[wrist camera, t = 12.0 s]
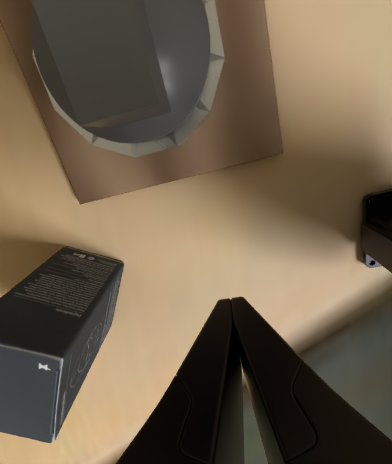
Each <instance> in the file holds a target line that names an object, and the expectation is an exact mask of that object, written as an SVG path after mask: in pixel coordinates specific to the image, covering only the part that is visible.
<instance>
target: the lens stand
mask: <svg viewBox="0 0 392 464" xmlns="http://www.w3.org/2000/svg"><path fill="white" fill-rule="evenodd" d="M215 6H216V11H217V17H218V23H219V28H220V34H221V39H222V45H223V51H224V56H225V59H224V63H223V67H222V71H221V74H220V78H219V81H218V85H217V89H216V92H215V96H214V99H213V103H212V107H211V110H210V114H209V117H208V118H207V119H206V120H205V121H204V122H203V123H202V125H201V126H200V127H199V128H198V129H197V130H196V131H195V132H194V133H193V134H192V135H191V136H190V137H189V138H188V139H187V140H186V141H185V142H184V143H183V144H181V145H179V146H177V147H173V148H169V149H166V150H162V151H158V152H154V153H151V154H147V155H143V156H140V157H136V158H135V157H131V156H128V155H124V154H121V153H117V152H114V151H111V150H107V149H104V148H100V147H97V146H93V145H91V144H90V143H89V142H88V141H87V140H86V139H85V138H84V137H83V136H82V135H81V134H80V133H79V132H78V131H77V130H75V129H74V128H73V127H72V126H71V125H70V124H69V123H68V122H67V121H66V120H65V119H64V118H63V117H62V116H61V115H60V114H59V113H58V112H57V111H55V110H54V107H53V104H52V102H51V100H50V97H49V95H48V92H47V90H46V87H45V85H44V83H43V80H42V78H41V75H40V73H39V70H38V68H37V66H36V63H35V61H34V58H33V45H32V38H31V8H32V0H0V21H1V23H2V25H3V28H4V30H5V32H6V35H7V37H8V39H9V42H10V44H11V46H12V48H13V51H14V53H15V55H16V58H17V60H18V62H19V65H20V67H21V69H22V72H23V74H24V76H25V78H26V81H27V83H28V85H29V88H30V90H31V92H32V95H33V97H34V99H35V102H36V104H37V106H38V108H39V111H40V113H41V115H42V118H43V120H44V122H45V125H46V127H47V129H48V132H49V134H50V136H51V138H52V141H53V143H54V145H55V148H56V150H57V152H58V155H59V157H60V159H61V162H62V164H63V166H64V168H65V171H66V173H67V175H68V178H69V180H70V182H71V185H72V187H73V189H74V192H75V194H76V196H77V198H78V201H79V203H80V204H83V203H87V202H91V201H95V200H99V199H103V198H107V197H111V196H115V195H119V194H123V193H127V192H131V191H135V190H139V189H143V188H147V187H151V186H155V185H159V184H163V183H167V182H171V181H175V180H179V179H183V178H186V177H190V176H194V175H198V174H202V173H206V172H210V171H214V170H218V169H222V168H226V167H230V166H234V165H238V164H242V163H246V162H250V161H254V160H258V159H262V158H266V157H270V156H274V155H278V154H282V153H283V150H282V141H281V133H280V125H279V117H278V108H277V100H276V92H275V84H274V76H273V67H272V59H271V51H270V43H269V34H268V26H267V18H266V10H265V1H264V0H215Z"/></svg>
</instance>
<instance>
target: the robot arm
mask: <svg viewBox="0 0 392 464" xmlns="http://www.w3.org/2000/svg"><path fill="white" fill-rule="evenodd" d="M372 198H373V200H372V202H371V203H369V200H370V199H372ZM361 249H362V251H363V262H364V264H365V265H366V266H367V267H369V268H374V267H380V266H383V267H385V268H386V269H387V270H389V271H390V272H391V273H392V189H390V190H385V191H381V192H376V193H372V194H368V195H366V196H365V197H364V199H363V222H362V224H361ZM370 261H372V262H371V263H369V262H370ZM241 364H242V367H241ZM242 369H243V373H244V377H245V380H246V384H247V388H248V391H249V395H250V399H251V402H252V406H253V409H254V413H255V417H256V420H257V424H258V428H259V431H260V435H261V439H262V442H263V446H264V450H265V453H266V457H267V461H268V464H392V441H391V440H390V439H389V438H388V437H387V436H386V435H384V434H383V433H382V432H381V431H380V430H379V429H377V428H376V427H375V426H374V425H373V424H372V423H370V422H369V421H368V420H367V419H366V418H365V417H363V416H362V415H361V414H360V413H359V412H358V411H356V410H355V409H354V408H353V407H352V406H351V405H349V404H348V403H347V402H346V401H345V400H344V399H343V398H342V397H340V396H339V395H338V394H337V393H336V392H335V391H334V390H333V389H331V388H330V387H329V386H328V385H327V384H326V383H325V382H324V381H323V380H322V379H321V378H320V377H319V376H318V375H317V374H316V373H315V372H314V371H313V370H312V369H311V367H310V366H309V365H308V364H307V363H305V362H304V360H303V359H302V358H301V357H300V356H299V355H298V354H297V353H296V352H295V351H294V350H293V349H292V348H291V347H290V346H289V345H288V343H287V342H286V341H285V340H284V339H283V338H282V337H281V336H280V335H279V334H278V333H277V332H276V331H275V330H274V329H273V328H272V327H271V326H270V325H269V324H268V323H267V321H266V320H265V319H264V318H263V317H262V316H261V315H260V314H259V313H258V312H257V311H256V310H255V309H254V308H253V307H252V306H251V305H250V304H249V303H248V302H247V300H246V299H245V298H244V297H235V298H232V299H231V300H230V299H229V298H228V299H221V300H218V302H217V304H216V305H215V307H214V309H213V311H212V312H211V314H210V316H209V318H208V319H207V321H206V323H205V325H204V326H203V328H202V330H201V332H200V333H199V335H198V337H197V339H196V340H195V342H194V344H193V345H192V347H191V349H190V351H189V352H188V354H187V356H186V358H185V359H184V361H183V363H182V365H181V366H180V368H179V370H178V372H177V373H176V375H177V376H175V377H174V378H173V380H172V382H171V384H170V385H169V387H168V389H167V390H166V392H165V394H164V395H163V397H162V399H161V400H160V402H159V403H158V405H157V406H156V408H155V409H154V411H153V412H152V414H151V415H150V417H149V418H148V420H147V421H146V422H145V424H144V425H143V427H142V428H141V429H140V431H139V432H138V434H137V435H136V436H135V438H134V439H133V441H132V442H131V443H130V445H129V446H128V447H127V449H126V450H125V452H124V453H123V454H122V456H121V457H120V459H119V460H118V461H117V463H116V464H244V430H243V395H242Z"/></svg>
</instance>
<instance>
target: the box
mask: <svg viewBox="0 0 392 464" xmlns="http://www.w3.org/2000/svg"><path fill="white" fill-rule="evenodd" d="M123 267H124V263H123V262H120V261H116V260H113V259H110V258H107V257H103V256H99V255H95V254H92V253H88V252H85V251H81V250H78V249H74V248H70V247H63V248H62V249H61V250H59V251H58V252H57V253H56V254H55V255H53V256H52V257H51V258H50V259H48V260H47V261H46V262H45V263H43V264H42V265H41V266H40V267H39V268H37V269H36V270H35V271H33V272H32V273H31V274H30V275H29V276H27V277H26V278H25V279H24V280H22V281H21V282H20V283H18V284H17V285H16V286H15V287H14V288H12V289H11V290H10V291H9V292H7V293H6V294H5V295H4V296H2V297H1V298H0V432H3V433H7V434H12V435H16V436H20V437H25V438H30V439H34V440H38V441H42V442H47V443H52V442H54V441H55V440H56V437H57V435H58V433H59V431H60V429H61V427H62V425H63V422H64V420H65V418H66V416H67V414H68V412H69V410H70V408H71V406H72V404H73V402H74V400H75V398H76V396H77V394H78V392H79V390H80V388H81V386H82V384H83V382H84V380H85V378H86V376H87V373H88V371H89V369H90V367H91V365H92V363H93V361H94V359H95V357H96V355H97V353H98V351H99V349H100V347H101V345H102V343H103V341H104V339H105V337H106V335H107V333H108V331H109V329H110V327H111V324H112V320H113V315H114V311H115V306H116V301H117V296H118V292H119V287H120V282H121V277H122V272H123Z"/></svg>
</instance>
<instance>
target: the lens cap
mask: <svg viewBox="0 0 392 464" xmlns="http://www.w3.org/2000/svg"><path fill="white" fill-rule="evenodd" d="M31 38H32V45H33V51H34V55H35V59H36V63H37V65H38V68H39V71H40V74H41V76H42V78H43V80H44V83H45V85H46V87H47V88H48V90H49V92H50V93H51V95H52V97H53V98H54V100H55V101H56V102H57V104H58V105H59V106H60V108H61V109H62V110H63V111H64V112H65V113H66V114H67V115H68V116H69V117H70V118H71V119H72V120H73V121H74V122H75V123H77V124H78V125H79V126H81V127H82V128H83V129H85V130H86V131H88V132H90V133H92V134H94V135H96V136H98V137H100V138H103V139H106V140H109V141H113V142H118V143H142V142H147V141H153V140H156V139H159V138H161V137H164V136H165V135H167V134H169V133H171V132H172V131H174V130H175V129H177V128H178V127H179V126H180V125H181V124H182V123H183V122H185V121H186V119H187V118H188V117H189V116H190V115H191V113H192V112H193V110H194V109H195V107H196V106H197V104H198V102H199V100H200V98H201V96H202V93H203V91H204V88H205V84H206V81H207V76H208V71H209V62H210V31H209V23H208V18H207V14H206V10H205V6H204V3H203V0H32V8H31Z"/></svg>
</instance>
